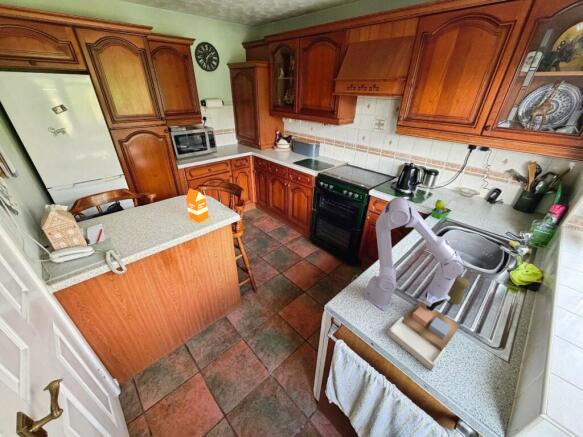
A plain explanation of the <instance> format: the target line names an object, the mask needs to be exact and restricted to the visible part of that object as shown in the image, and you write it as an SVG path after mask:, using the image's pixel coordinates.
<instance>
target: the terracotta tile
mask: <svg viewBox="0 0 583 437" xmlns="http://www.w3.org/2000/svg"><path fill="white" fill-rule="evenodd" d="M433 316H434V315H433V314H431V313H430V312H428V311H427V310H425V309H424V308H422V307H421V306H420V307H419V308H418V309H417V310H416V311H415V312H414V313H413V315H412V318H414V319H415V320H416V321H418V322H419V323H420V324H422V325H423V326H425V327H426V325H427V324H428V323H429V322H430V321H431V320H432V318H433Z"/></svg>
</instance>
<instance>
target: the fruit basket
mask: <svg viewBox="0 0 583 437" xmlns="http://www.w3.org/2000/svg"><path fill="white" fill-rule="evenodd" d="M445 206H446V205H445V203H444V201H443V200H441V199H437V200H436V201H435V204H434V207H435V208H432V209H431V217H433V218H435V219H437V218H438V219H437V220H441V219H443V217H444V218H446V217H448V216H449V214H450V213H451V212H452V209H450V208H448V207H445ZM445 216H446V217H445ZM440 218H441V219H440Z"/></svg>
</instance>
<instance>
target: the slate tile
mask: <svg viewBox="0 0 583 437" xmlns="http://www.w3.org/2000/svg"><path fill="white" fill-rule="evenodd" d="M428 329H429V330H430V331H432V332H433V333H434V334H436V335H437V336H439V337H440V338H441V339H444V338H445V336H446V335H447V334H448V332H449V331H450V329H451V326H449V325H448V324H446V323H445V322H443V321H442V320H440V319H439V318H437V317H436V318H435V320H434V321H433V322H432V323H431V324H430V326H429V328H428Z"/></svg>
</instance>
